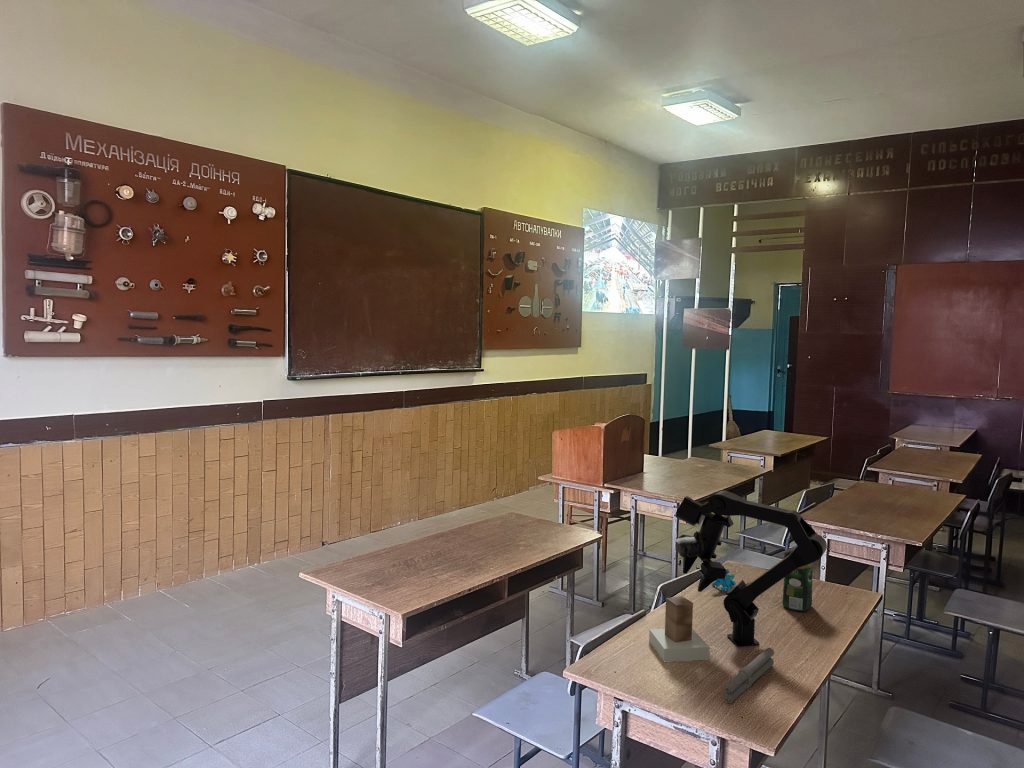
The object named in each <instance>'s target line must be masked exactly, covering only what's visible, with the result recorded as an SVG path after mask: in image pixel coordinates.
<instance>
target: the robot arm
mask: <svg viewBox="0 0 1024 768" xmlns="http://www.w3.org/2000/svg"><path fill="white" fill-rule="evenodd" d="M732 516H733V517H735V516H736V517H737V516H741V517H742V516H743V517H746V518H751V519H755V520H759V521H763V522H767V523H771V524H775V525H781V526H784V527H786V529H787V530H788V532H789V533H790V536H791V538H792V539H793V542H794V543H795V544H796V545H797V547H796V548H795V549H794V550H793V552H792V553H791V554H790V555H788V556H787V557H785V558H784V557H783V558H782V559H781V560H780V561H779V562H777V563H776V564H775V565H773V566H771V567H770V568H769V569H768V570H765V572H764V573H762V574H761V575H760V576H758V577H757V578H755V579H754V580H752V581H749V582H748V583H745V581H744V580H743V579H742V580H741V581H740V582H739V583H738V584H737V585H734V586H733V587H732V588H731V589H730V590H729V591H728V592H727V591H726V593H725V595H726V596H725V597H724V599H723V607H724V609H725V611H726V612H727V614H728V616H729V620H730V622H731V623H732V630H731V631H732V633H728V634H727V635H726V636H727V637H728V639H729V640H731V641H732V643H734V645H736V646H738V647H744V646H746V647H747V646H748V647H749V646H760V642H759V641H758V640H756V638H755V629H756V619H755V617H757V615H758V613H759V612H760V611H759V610H760V609H759V608H758V607H757V605H756V604H755V603H754V602H755V600H756V599H757V597H759V596H760V595H762V594H763V593H764V592H766V591H768V590H769V589H770V588H771V587H773V586H775V585H776V584H777V583H779V582H780V581H782V580H784V577H786V576H787V575H789V574H790V573H791V572H793V571H794V570H796V569H797V568H800V567H803V566H806V565H808V564H811V563H813V564H814V563H815V562H817V561H819V560H820V559H822V557H823V555H824V554H825V553H826V551H827V549H828V544H827V541H826V539H825V538H824V537H823V536H822V535H820V534H819V533H817V532H816V530H815V529H814V527H813V526H811V525H810V524H809V523H808V522H807V521H806V520H805V519H804V518H803V517H802V515H801V514H800V513H799V512H798V510H795V509H792V510H790V509H787V508H783V507H782V508H781V507H776V506H774V505H768V504H765V503H759V502H755V501H751V500H747V499H744V498H743V497H742V496H739V495H738V494H735V493H733V492H730V491H727V490H720V491H718V492H715V493H714V494H713V495H711V496H710V498H709V500H708V501H706V502H704V503H701V502H699V501H697V500H694V499H693V498H691V497H690V496H685V497H683V500H682V501H681V502H680V504H679V506H678V507H677V508H676V510H675V515H674V517H675V518H676V519H678V520H680V521H682V522H684V523H686V524H688V525H690V526H692V527H696V526H697V525H698V526H699V525H701V526H700V529H699V531H697V530H696V531H695V532H694V533H693V535H690V534H689V535H688V534H682V535H680V536H678V538H676V539H675V551H676V552H677V553H678V554H679V556H680V557H682V558H683V559H682V561H683V562H682V573H683V574H685V575H687V574H688V572H689V571H690V569H691V568H692V567H693V565H694V564H695V561H696V560H697V559H698V558H699V559H700V561H701V565H700V568H699V570H698V571H699V573H700V579H699V582H698V586H697V592H699V593H702V592H703V591H704V590H706V588H708V587H709V586H710V585H712V584H713V583H714V582H715V581H716V580H717V579H725V577H726V575H727V571H726V568H725V566H724V565H723V566H724V567H723V566H722V563H721V562H720V561H713V560H712V559H717V556H718V555H717V553H715V552H716V550H717V546H721V545H722V543H723V542H722V541H721V540H720V539H721V536H722V534H723V531H724V529H725V527H727V528H731V527H732V526H734V521H733V520H732V518H731V517H732Z"/></svg>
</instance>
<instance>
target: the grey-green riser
mask: <svg viewBox="0 0 1024 768" xmlns="http://www.w3.org/2000/svg"><path fill="white" fill-rule="evenodd" d="M648 639H649V640H648V642H649V643H650V646H652V648H653V647H654V648H653V649H654V651H655V650H656V651H657V652H656V651H655V652H656V654H657V655H658V654H659V655H660V656H659V655H658V656H659V657H660V659H661V658H662V659H663V660H664V661H683V662H694V661H693V660H706V661H710V645H708V643H706V641H705V640H704V639H703V638H702V637H701V636H700V635H699V633H697V631H696V630H695V629H694V628H693V627H692V640H689V641H683V642H676V643H675V642H674V641H672V640H671V639H670V638H669V637H667V636H666V635H665V628H649V633H648ZM662 659H661V660H662ZM663 660H662V661H663Z"/></svg>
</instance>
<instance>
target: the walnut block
mask: <svg viewBox="0 0 1024 768" xmlns="http://www.w3.org/2000/svg"><path fill="white" fill-rule="evenodd" d="M693 612H694V602H693V601H690V599H687V598H686V597H684V596H683V595H681V596H672V597H665V612H664V613H665V619H664V629H665V635H666V636H667V637H669V638H670V639H671V640H672V641H674V642H675V643H676V642H683V641H689V640H692V628H693V617H694V615H693Z"/></svg>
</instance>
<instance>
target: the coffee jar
mask: <svg viewBox="0 0 1024 768" xmlns="http://www.w3.org/2000/svg"><path fill="white" fill-rule="evenodd" d="M796 547H797V544H796V545H795V546H791V547H789V548H787V549H785V551H784V554H783V555H784V557H783V559H784V558H785V557H787V556H788V555H790V554H791V553H792V552H793V550H794V549H795V548H796ZM813 567H814V562H813V563H811V564H808V565H806V566H803V567H800V568H797V569H796V570H794V571H793V572H791V573H790V574H789V575H787V576H786V577H784V578H783V587H782V588H783V589H782V603H781V604H782V606H783V607H784V608H786V609H788V610H790V611H794V612H806V611H808V610H810V608H811V607H812V604H813V571H814V568H813Z"/></svg>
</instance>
